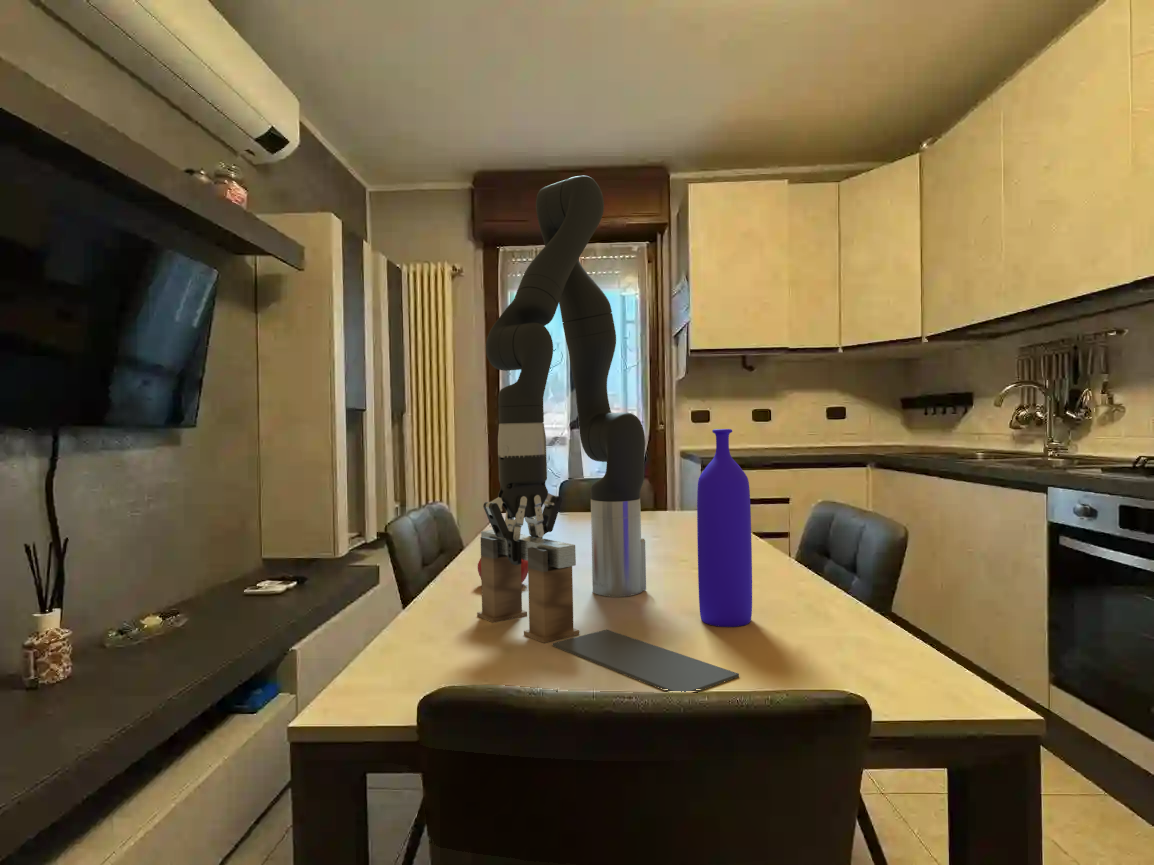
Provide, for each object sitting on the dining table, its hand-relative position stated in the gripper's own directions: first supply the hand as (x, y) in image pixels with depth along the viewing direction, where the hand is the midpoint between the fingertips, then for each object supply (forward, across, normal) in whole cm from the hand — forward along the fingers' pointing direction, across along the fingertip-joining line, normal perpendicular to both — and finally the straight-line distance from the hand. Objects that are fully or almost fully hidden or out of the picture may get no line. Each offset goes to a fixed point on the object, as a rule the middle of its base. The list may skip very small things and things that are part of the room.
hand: (525, 562), depth 111 cm
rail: (-1, 0, 0) cm, 1 cm away
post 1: (+10, 0, -7) cm, 12 cm away
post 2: (+10, 0, +7) cm, 12 cm away
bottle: (+10, -25, +19) cm, 33 cm away
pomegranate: (+10, -12, -26) cm, 30 cm away
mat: (+10, -2, +24) cm, 26 cm away
